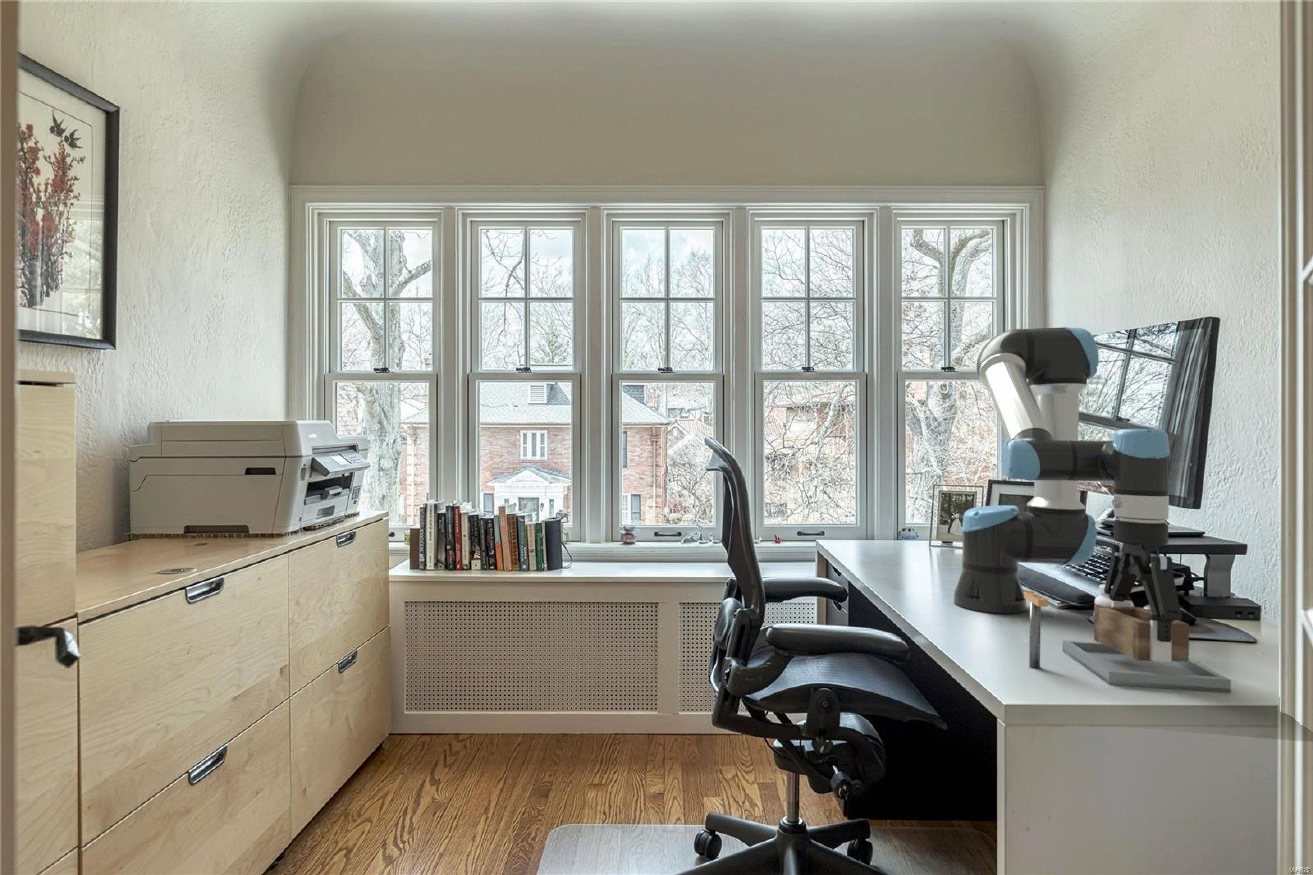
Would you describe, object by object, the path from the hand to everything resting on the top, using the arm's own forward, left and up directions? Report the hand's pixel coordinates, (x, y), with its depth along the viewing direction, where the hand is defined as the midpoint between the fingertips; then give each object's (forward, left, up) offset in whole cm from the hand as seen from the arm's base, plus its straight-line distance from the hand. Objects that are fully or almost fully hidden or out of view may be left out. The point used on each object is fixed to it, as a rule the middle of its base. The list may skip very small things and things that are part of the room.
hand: (1139, 649), depth 112 cm
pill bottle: (-15, +3, -4) cm, 16 cm away
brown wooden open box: (0, 0, 0) cm, 0 cm away
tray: (0, 0, -4) cm, 4 cm away
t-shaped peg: (+2, -17, -4) cm, 17 cm away
